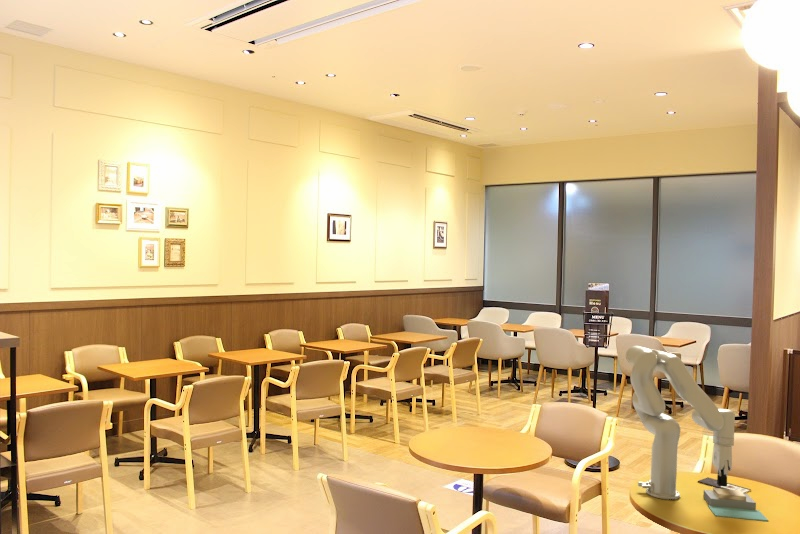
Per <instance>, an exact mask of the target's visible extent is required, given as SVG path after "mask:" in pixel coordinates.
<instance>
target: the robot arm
mask: <svg viewBox="0 0 800 534" xmlns="http://www.w3.org/2000/svg"><path fill="white" fill-rule="evenodd" d="M625 358H626V362H627V363H629V365H631V366H632V368H631V372H630V378H629V379H630V384H631V386H632V389H633V390H634V392H633V394H632V397H631V403H632V406H633V408H634V410H635V411H636V412H635V413H636V414H637V415H638V417H639V419H640V422H642V425H643V426H644V428H645V429H646V431H648V432H649V433H650V434H652V435H654V438H653V442H652V445H651V456H650V457H651V459H650V460H651V461H650V463H651V464H650V479H648V481H645V482H643V481H640V480H639V481H638V482H637V486H638V487H640V488H641V487H642V488H641V489H645V492H646V494H647V495H649V496H651V497H653V498H655V499H656V498H657V499H661V500H669V499H670V501H671V499H672V500H678V499H679V498H681V493H680V492H679V491H677V475H678V474H677V469H678V449H679V441H680V437H681V427H680V424H679V422H678V421H677V419H675V418H674V417H672V416H670V415H668V414H667V413H664V412H665V410H666V402H665V400H664V398H663V396H662V395H661V392H660V391H659V389H658V387H657V385H656V382H655V381H654V380H655V379H654V377H653V376H654V375H653V373H654V371H657V372H660V373H662V374H663V375H664V376H665V377H666V379H667V380H668V382H669V383H670V385H671V386H672V388H673V390H674V391H675V393H676V394H677V395H678V396H679V397H680V398H681V399H682V400H683V401H685V402H686V404H689V405H690V407H692V408H693V409H694V410H693V411H691V412H692V413H691V419H692V421H693V422H694V423H695V424H696V425H698V426H700V427H701V428H705V429H706V430H708V431H711V432H713V435H712V443H713V448H712V449H713V450H712V464H713V466H714V467H715V468H716V469H717V470H716V471H717V476H716V478H717V479H716V480H717V484H718V486H725V487H726V486H727V483H728V475H729V472H730V471H732V467H733V466H732V465H733V453H732V452H733V450H732V449H733V448H732V447H733V446H734V445H735V418H736V417H735V416H736V415H735V412H734V410H732V409H727V408H718V407H717V405H716V403H714V401H713V400H712V398H711V397H710V396H709V395H708V394H707V393H706V392H705V391H704V390H703V388H701V386H699V384H698V383H697V382H696V381H695V379H694V377H693V375H692V374H691V373H690V371H689V369H688V368H687V367H686V365H685V363H684V362H683V361H682V359H681V357H679V356H678V355H676V354H673V353H669V352H665V351H662V350H657V349H653V348H648V347H644V346H640V345H632V346H630V347H628V348H627V350H626V353H625Z"/></svg>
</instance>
